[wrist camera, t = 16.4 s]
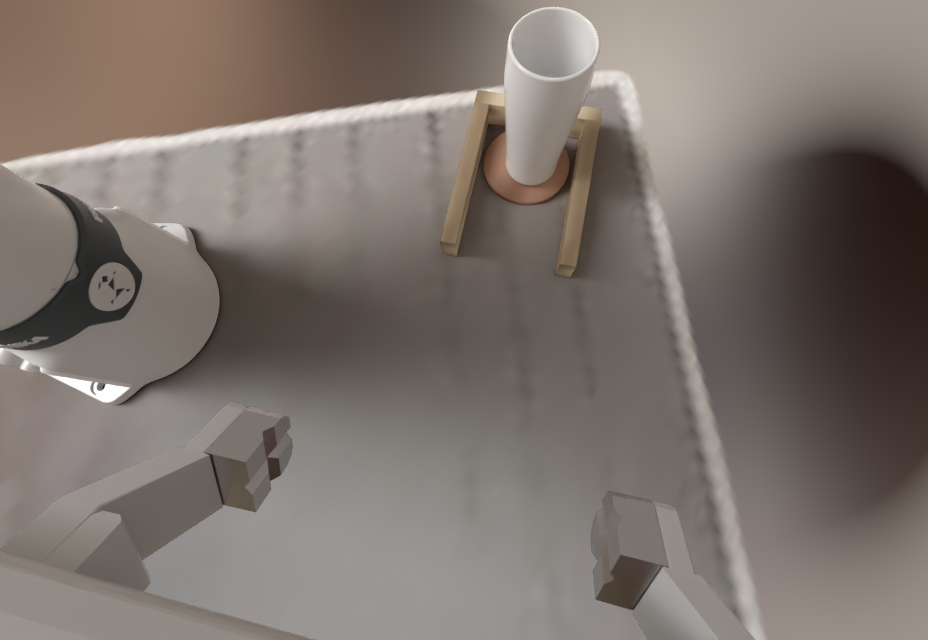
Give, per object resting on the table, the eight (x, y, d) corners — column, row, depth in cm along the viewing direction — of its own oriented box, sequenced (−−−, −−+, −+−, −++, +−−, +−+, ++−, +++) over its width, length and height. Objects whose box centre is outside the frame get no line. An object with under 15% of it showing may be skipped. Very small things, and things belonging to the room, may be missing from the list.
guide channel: (442, 253, 44) (439, 241, 41) (477, 110, 48) (477, 89, 45) (569, 277, 43) (576, 266, 40) (594, 129, 47) (602, 109, 44)
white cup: (572, 182, 45) (617, 64, 30) (511, 202, 44) (526, 93, 30) (548, 130, 46) (580, -6, 32) (489, 148, 46) (493, 20, 32)
